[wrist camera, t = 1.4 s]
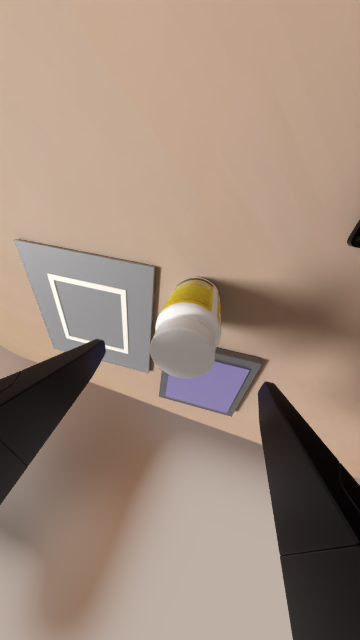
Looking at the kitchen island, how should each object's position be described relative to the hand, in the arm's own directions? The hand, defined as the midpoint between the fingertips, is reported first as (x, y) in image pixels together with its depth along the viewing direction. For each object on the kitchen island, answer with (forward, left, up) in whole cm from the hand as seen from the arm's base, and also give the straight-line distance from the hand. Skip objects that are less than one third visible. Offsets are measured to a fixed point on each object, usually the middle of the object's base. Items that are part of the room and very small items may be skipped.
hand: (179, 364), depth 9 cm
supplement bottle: (0, 0, -9) cm, 9 cm away
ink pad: (-3, +11, -9) cm, 15 cm away
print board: (+12, +5, -9) cm, 16 cm away
